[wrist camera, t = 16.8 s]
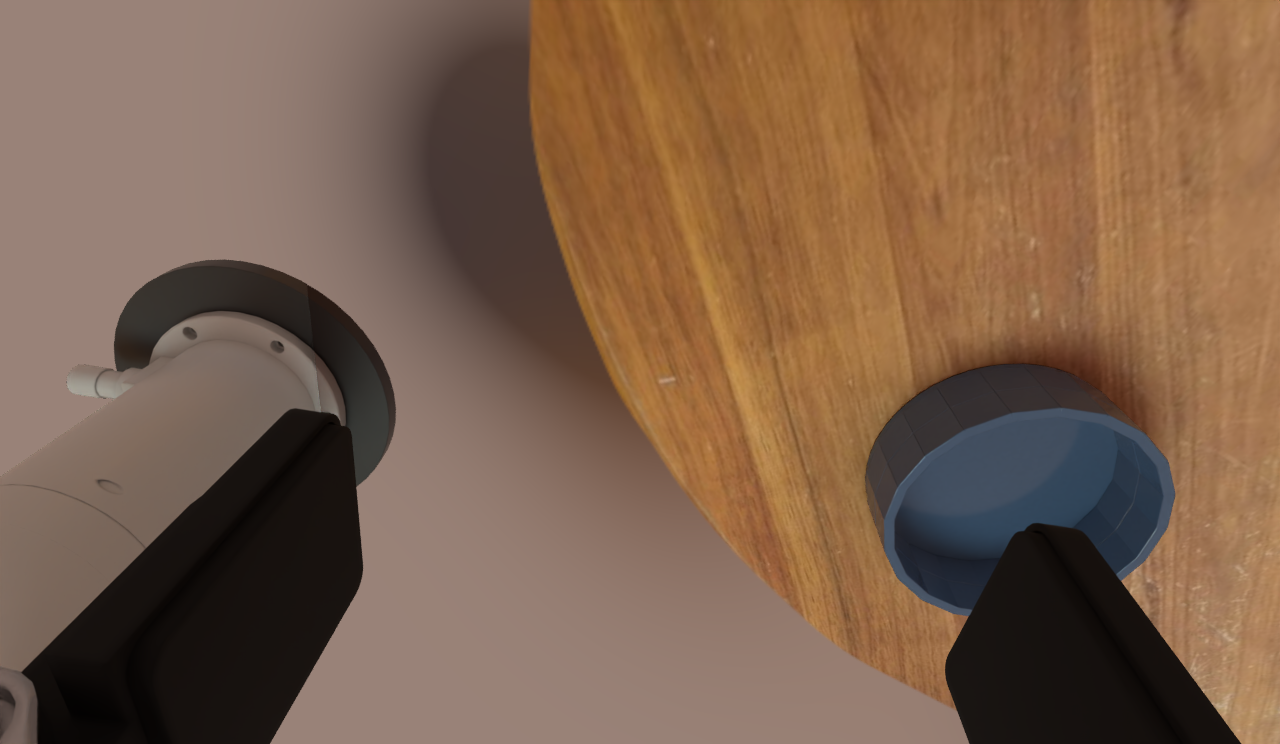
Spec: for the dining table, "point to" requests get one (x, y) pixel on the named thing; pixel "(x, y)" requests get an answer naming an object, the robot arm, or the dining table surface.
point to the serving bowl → (1010, 478)
